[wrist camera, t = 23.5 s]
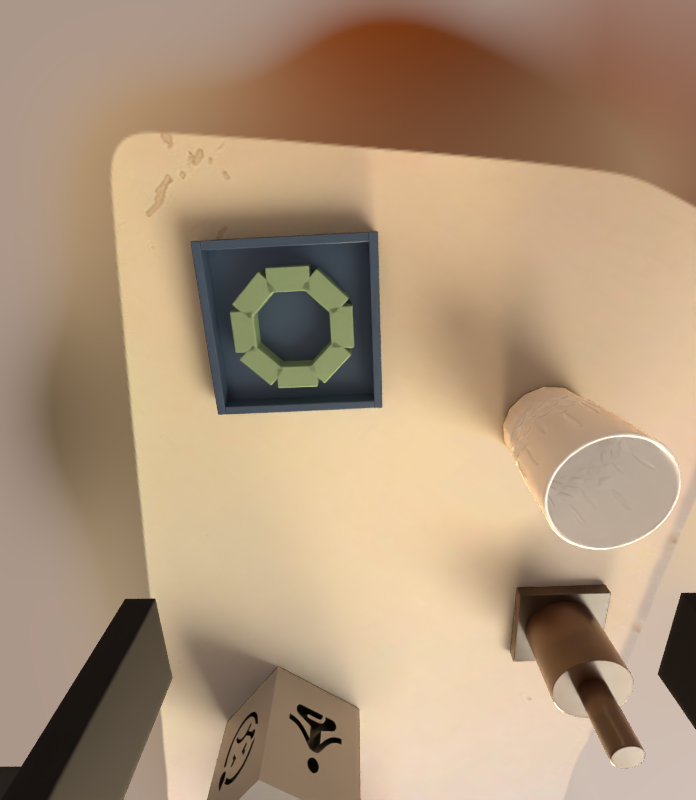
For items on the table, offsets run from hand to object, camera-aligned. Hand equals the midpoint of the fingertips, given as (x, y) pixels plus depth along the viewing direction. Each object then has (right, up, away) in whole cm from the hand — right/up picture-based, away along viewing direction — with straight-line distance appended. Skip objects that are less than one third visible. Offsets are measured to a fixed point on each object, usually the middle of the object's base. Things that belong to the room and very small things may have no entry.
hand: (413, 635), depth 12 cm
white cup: (+14, +4, +25) cm, 29 cm away
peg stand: (+18, -15, +31) cm, 39 cm away
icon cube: (-7, -27, +36) cm, 46 cm away
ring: (-6, +11, +21) cm, 25 cm away
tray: (-6, +12, +22) cm, 25 cm away
